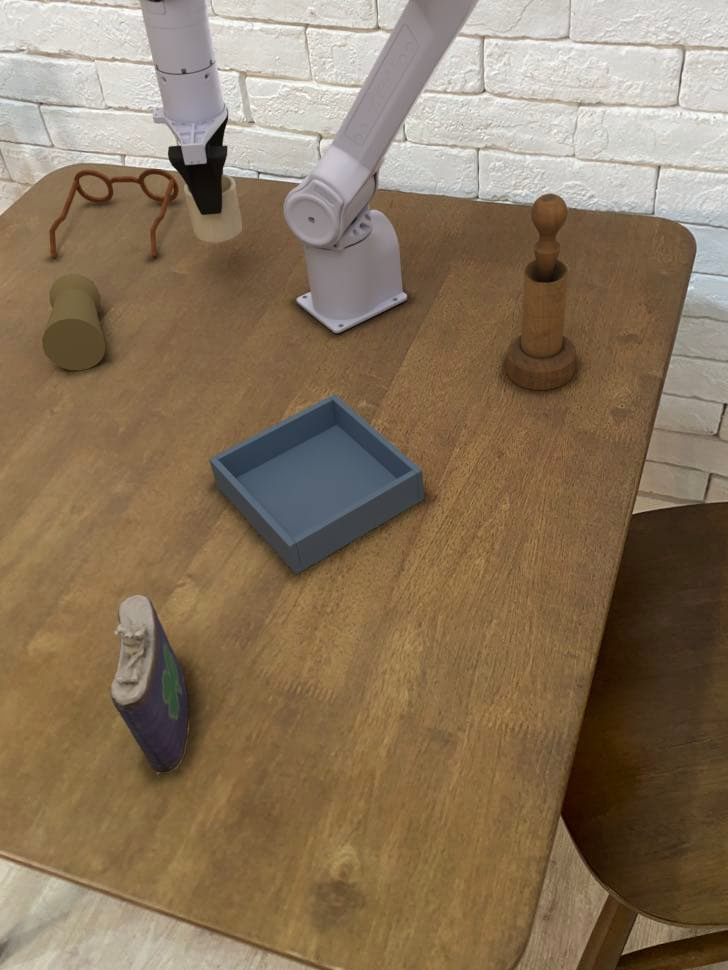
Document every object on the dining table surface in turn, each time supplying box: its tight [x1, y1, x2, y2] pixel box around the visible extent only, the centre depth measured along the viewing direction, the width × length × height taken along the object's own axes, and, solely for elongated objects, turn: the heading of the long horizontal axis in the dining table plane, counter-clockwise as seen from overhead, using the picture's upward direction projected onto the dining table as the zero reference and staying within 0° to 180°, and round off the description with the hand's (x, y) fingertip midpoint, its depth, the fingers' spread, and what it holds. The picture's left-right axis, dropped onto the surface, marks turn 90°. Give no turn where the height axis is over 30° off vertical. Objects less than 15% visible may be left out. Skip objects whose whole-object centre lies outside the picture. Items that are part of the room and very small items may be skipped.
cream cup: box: [183, 173, 243, 243], centre depth 98 cm, size 5×5×5 cm
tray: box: [208, 393, 425, 575], centre depth 81 cm, size 13×13×4 cm
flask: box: [109, 594, 191, 776], centre depth 64 cm, size 9×3×11 cm, turn 8°
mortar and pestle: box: [505, 193, 577, 391], centre depth 85 cm, size 7×6×18 cm
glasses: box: [49, 168, 180, 259], centre depth 113 cm, size 13×13×5 cm
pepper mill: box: [41, 273, 106, 371], centre depth 98 cm, size 6×6×11 cm
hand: (212, 197), depth 97 cm, fingers closed on cream cup, 5 cm apart
